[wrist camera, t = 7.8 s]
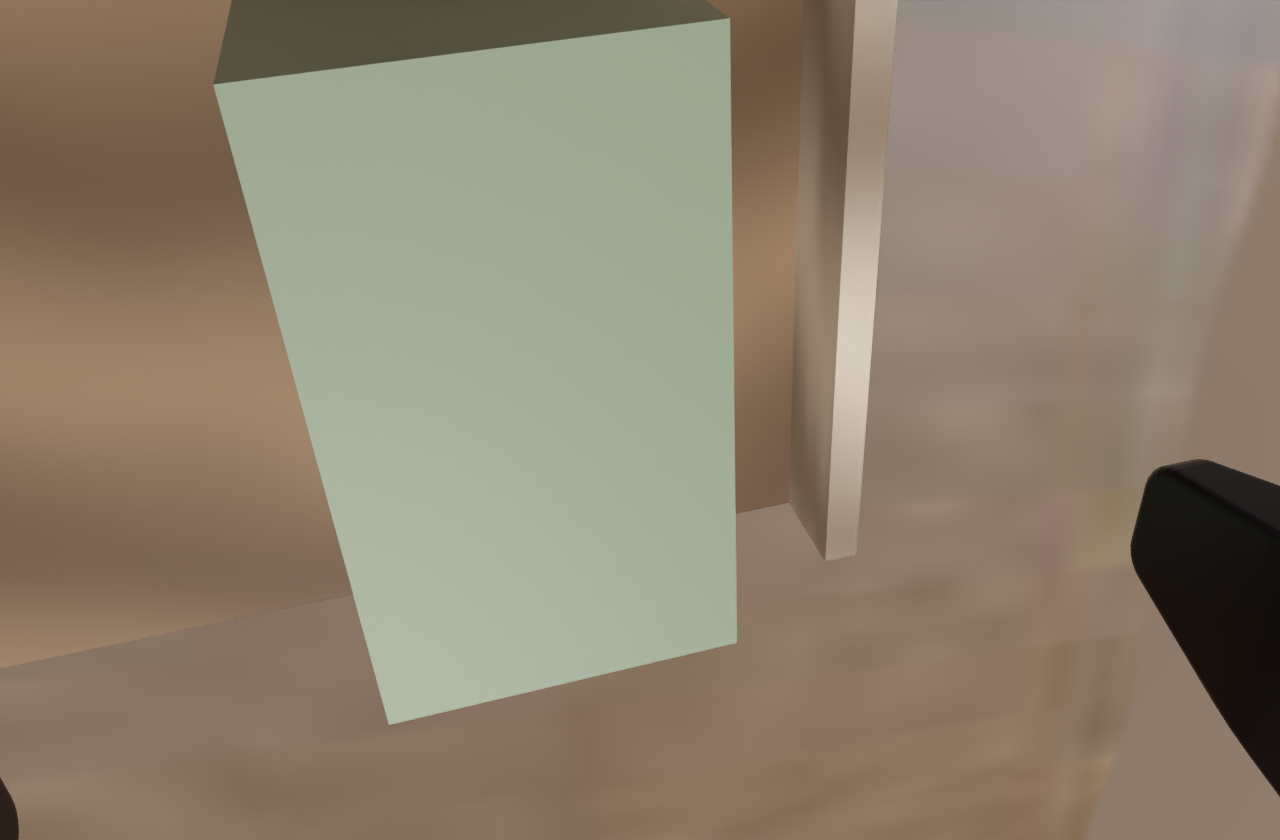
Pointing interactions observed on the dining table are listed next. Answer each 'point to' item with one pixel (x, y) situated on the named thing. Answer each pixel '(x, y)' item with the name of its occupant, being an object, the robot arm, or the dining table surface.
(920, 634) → the dining table surface
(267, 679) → the dining table surface
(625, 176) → the tea box
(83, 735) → the dining table surface
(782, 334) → the wooden tray
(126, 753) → the dining table surface
